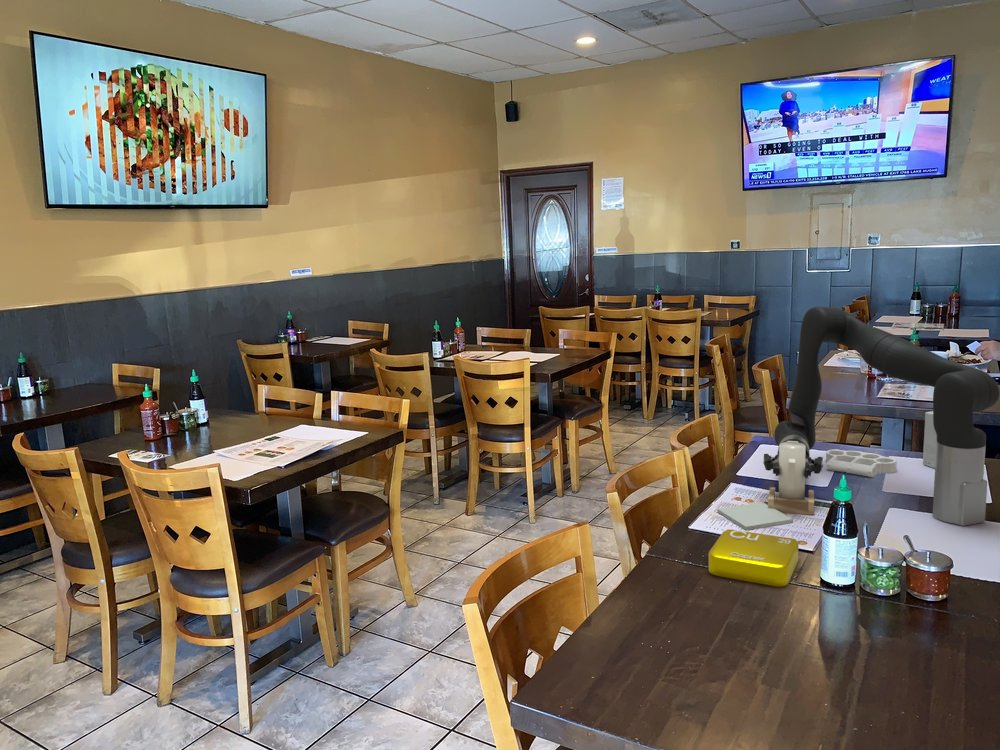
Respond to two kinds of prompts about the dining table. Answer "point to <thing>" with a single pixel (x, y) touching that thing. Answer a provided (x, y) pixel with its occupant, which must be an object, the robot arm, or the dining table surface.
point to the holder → (791, 503)
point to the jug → (792, 470)
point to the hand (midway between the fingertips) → (791, 472)
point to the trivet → (754, 515)
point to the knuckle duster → (859, 463)
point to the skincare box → (929, 441)
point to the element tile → (754, 557)
